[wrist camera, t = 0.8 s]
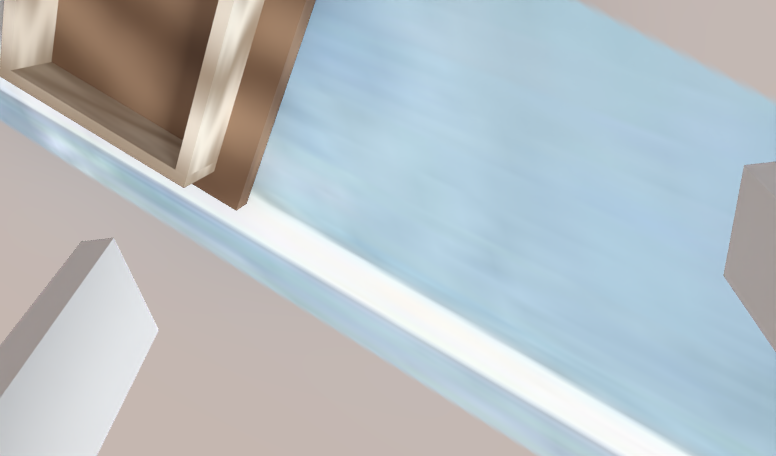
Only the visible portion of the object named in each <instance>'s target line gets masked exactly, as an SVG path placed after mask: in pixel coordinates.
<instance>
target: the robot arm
mask: <svg viewBox="0 0 776 456" xmlns="http://www.w3.org/2000/svg"><path fill="white" fill-rule="evenodd" d="M723 276H724V277H725V279H726V280H727V281H728V283H729V284H730V286H731V287H732V289H733V290H734V292H735V293H736V295H737V296H738V298H739V299H740V301H741V302H742V303H743V305H744V306H745V308H746V309H747V311H748V312H749V314H750V315H751V317H752V318H753V320H754V321H755V322H756V324H757V325H758V327H759V328H760V330H761V331H762V333H763V334H764V336H765V337H766V339H767V340H768V341H769V343H770V344H771V346H772V347H773V349H774V350H775V352H776V162H768V163H759V164H751V165H744V168H743V174H742V179H741V184H740V190H739V195H738V200H737V206H736V211H735V217H734V222H733V227H732V233H731V238H730V243H729V249H728V254H727V259H726V265H725V270H724V275H723ZM158 331H159V330H158V328H157V325H156V324H155V321H154V319H153V317H152V315H151V313H150V311H149V309H148V307H147V305H146V303H145V301H144V299H143V297H142V295H141V293H140V291H139V289H138V286H137V284H136V283H135V280H134V278H133V276H132V275H131V272H130V270H129V268H128V266H127V264H126V262H125V260H124V258H123V256H122V254H121V252H120V249H119V247H118V245H117V243H116V241H115V239H114V238H108V239H99V240H91V241H82V242H81V243H80V244H79V245H78V246H77V248H76V249H75V250H74V252H73V253H72V254H71V255H70V257H69V258H68V259H67V261H66V262H65V263H64V264H63V266H62V267H61V268H60V269H59V271H58V272H57V273H56V275H55V276H54V277H53V278H52V280H51V281H50V282H49V284H48V285H47V286H46V287H45V289H44V290H43V291H42V293H41V294H40V295H39V296H38V298H37V299H36V300H35V302H34V303H33V304H32V306H31V307H30V308H29V309H28V311H27V312H26V313H25V314H24V316H23V317H22V318H21V320H20V321H19V322H18V323H17V325H16V326H15V327H14V329H13V330H12V331H11V332H10V334H9V335H8V336H7V337H6V339H5V340H4V341H3V343H2V344H1V345H0V456H97V454H98V452H99V450H100V448H101V446H102V444H103V442H104V440H105V438H106V436H107V434H108V432H109V430H110V428H111V426H112V424H113V422H114V420H115V418H116V416H117V413H118V412H119V410H120V407H121V405H122V404H123V402H124V400H125V397H126V395H127V393H128V391H129V389H130V387H131V385H132V383H133V381H134V379H135V377H136V375H137V373H138V371H139V369H140V367H141V365H142V363H143V361H144V359H145V357H146V355H147V353H148V351H149V349H150V347H151V345H152V343H153V341H154V339H155V336H156V335H157V333H158Z"/></svg>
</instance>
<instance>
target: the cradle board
mask: <svg viewBox="0 0 776 456" xmlns="http://www.w3.org/2000/svg"><path fill="white" fill-rule="evenodd" d="M315 1H316V0H4V12H3V27H2V42H1V57H0V77H2V78H3V79H5V80H7V81H8V82H10V83H12V84H13V85H15V86H17V87H18V88H20V89H22V90H23V91H25V92H26V93H28V94H30V95H31V96H33V97H35V98H36V99H38V100H40V101H41V102H43V103H45V104H46V105H48V106H50V107H51V108H53V109H54V110H56V111H58V112H59V113H61V114H63V115H64V116H66V117H68V118H69V119H71V120H73V121H74V122H76V123H78V124H79V125H81V126H82V127H84V128H86V129H87V130H89V131H91V132H92V133H94V134H96V135H97V136H99V137H101V138H102V139H104V140H106V141H107V142H109V143H110V144H112V145H114V146H115V147H117V148H119V149H120V150H122V151H124V152H125V153H127V154H129V155H130V156H132V157H134V158H135V159H137V160H138V161H140V162H142V163H143V164H145V165H147V166H148V167H150V168H152V169H153V170H155V171H157V172H158V173H160V174H162V175H163V176H165V177H166V178H168V179H170V180H171V181H173V182H175V183H176V184H178V185H180V186H181V187H183V188H185V187H187V186H188V185H190V184H193V185H195V186H196V187H198V188H200V189H201V190H203V191H205V192H206V193H208V194H210V195H211V196H213V197H215V198H216V199H218V200H220V201H221V202H223V203H225V204H226V205H228V206H229V207H231V208H233V209H234V210H238V209H239V208H241V207H242V206H244V205H245V204H247V201H248V198H249V195H250V192H251V189H252V186H253V183H254V180H255V177H256V174H257V171H258V168H259V166H260V163H261V160H262V157H263V154H264V151H265V148H266V145H267V142H268V139H269V136H270V133H271V130H272V127H273V124H274V122H275V119H276V116H277V113H278V110H279V107H280V104H281V101H282V98H283V95H284V92H285V89H286V86H287V83H288V80H289V77H290V75H291V72H292V69H293V66H294V63H295V60H296V57H297V54H298V51H299V48H300V45H301V42H302V39H303V36H304V33H305V30H306V28H307V25H308V22H309V19H310V16H311V13H312V10H313V7H314V4H315Z"/></svg>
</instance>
